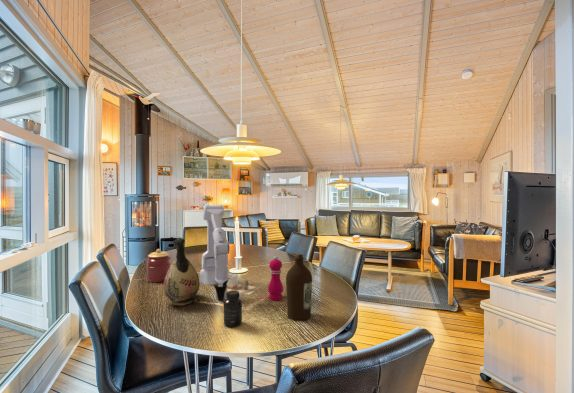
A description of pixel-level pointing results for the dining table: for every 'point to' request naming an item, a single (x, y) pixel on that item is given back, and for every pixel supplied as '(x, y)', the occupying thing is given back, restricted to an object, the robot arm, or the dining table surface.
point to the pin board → (251, 289)
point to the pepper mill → (275, 280)
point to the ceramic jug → (181, 278)
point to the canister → (157, 266)
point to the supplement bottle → (232, 309)
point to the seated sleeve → (232, 281)
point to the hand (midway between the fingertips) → (221, 297)
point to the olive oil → (299, 290)
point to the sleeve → (224, 295)
